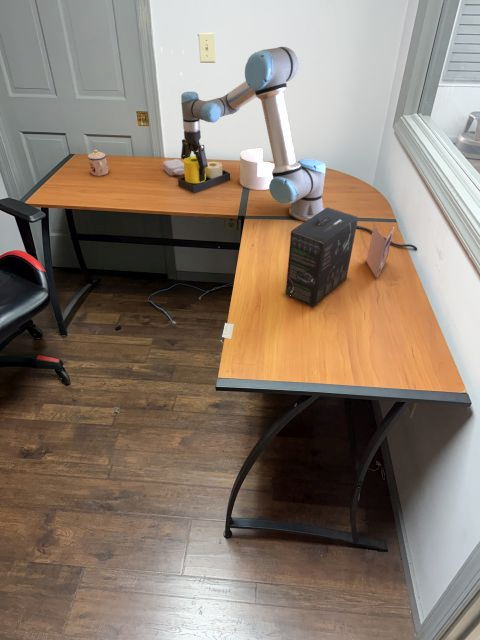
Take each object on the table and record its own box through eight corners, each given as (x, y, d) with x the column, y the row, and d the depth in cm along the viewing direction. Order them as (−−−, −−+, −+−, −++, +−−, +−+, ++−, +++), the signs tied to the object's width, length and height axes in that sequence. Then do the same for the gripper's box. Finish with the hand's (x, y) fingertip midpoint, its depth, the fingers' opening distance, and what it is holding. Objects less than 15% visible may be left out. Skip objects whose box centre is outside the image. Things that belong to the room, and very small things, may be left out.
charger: (174, 180, 220) (163, 170, 230) (190, 176, 224) (179, 167, 234) (173, 171, 217) (162, 161, 227) (190, 167, 220) (178, 158, 230)
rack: (230, 179, 221) (230, 172, 218) (193, 193, 208) (193, 186, 206) (214, 173, 227) (214, 166, 225) (178, 185, 215) (177, 178, 213)
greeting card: (379, 279, 153) (388, 241, 144) (358, 273, 156) (366, 236, 146) (387, 263, 161) (396, 227, 151) (367, 258, 164) (375, 222, 154)
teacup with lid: (89, 171, 229) (84, 149, 221) (106, 168, 232) (102, 146, 225) (95, 179, 221) (90, 156, 213) (112, 176, 224) (108, 153, 217)
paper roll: (226, 178, 220) (225, 164, 216) (212, 183, 216) (211, 169, 211) (214, 173, 226) (213, 160, 221) (200, 178, 221) (199, 164, 216)
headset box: (318, 266, 159) (328, 200, 143) (347, 278, 154) (361, 210, 137) (283, 295, 146) (289, 225, 129) (314, 309, 140) (324, 238, 124)
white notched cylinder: (277, 191, 210) (279, 163, 202) (236, 188, 213) (236, 161, 204) (281, 175, 225) (282, 149, 217) (243, 172, 228) (243, 147, 219)
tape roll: (205, 175, 216) (204, 156, 210) (205, 183, 209) (204, 163, 203) (185, 175, 216) (184, 156, 210) (184, 183, 208) (182, 163, 202)
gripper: (214, 133, 193) (216, 182, 208) (183, 123, 206) (187, 169, 220) (201, 137, 189) (204, 186, 204) (170, 126, 202) (175, 173, 216)
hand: (195, 177), depth 212 cm, fingers closed on tape roll, 10 cm apart
